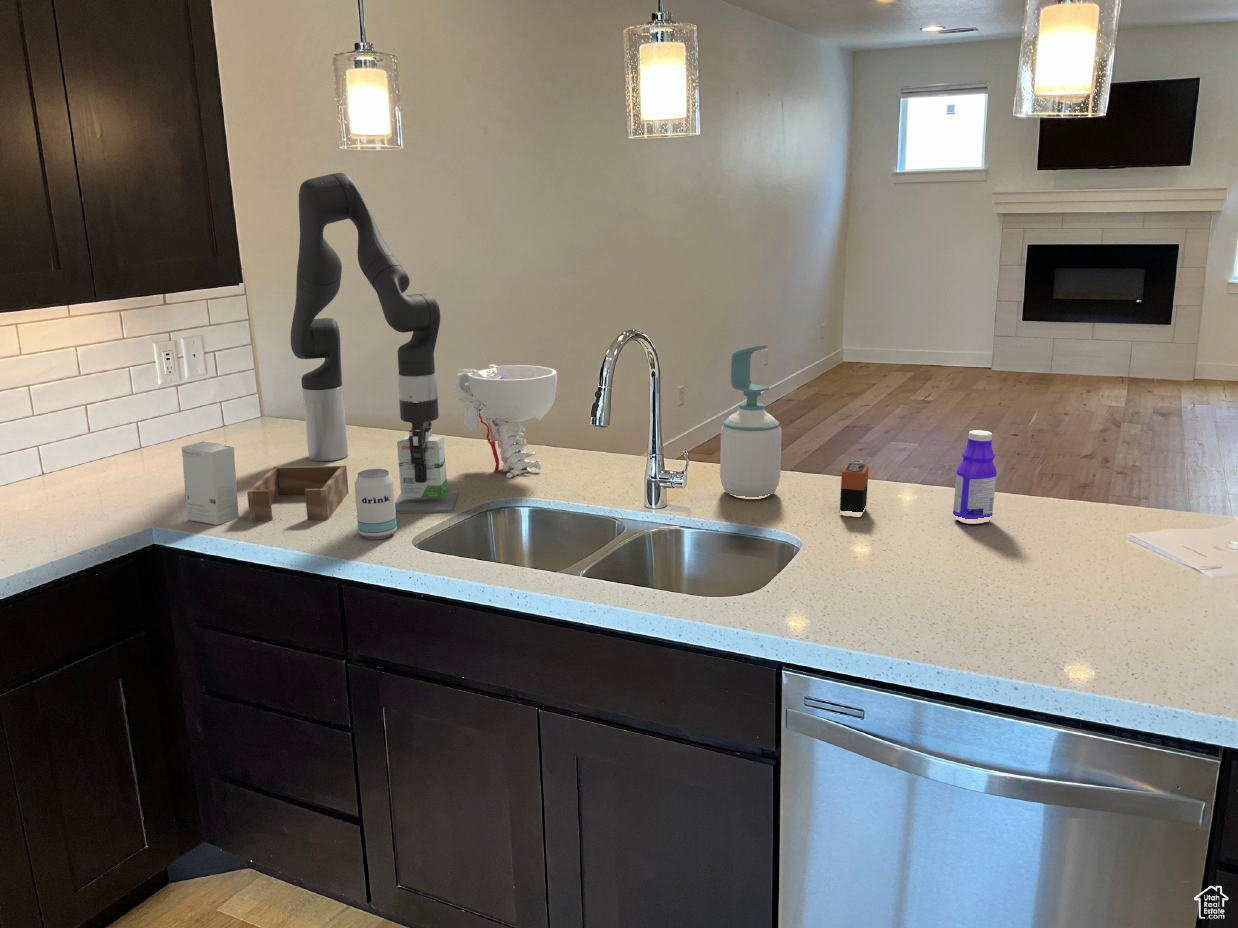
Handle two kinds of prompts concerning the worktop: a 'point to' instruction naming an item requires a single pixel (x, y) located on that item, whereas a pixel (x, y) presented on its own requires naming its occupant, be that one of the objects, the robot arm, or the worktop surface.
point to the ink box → (434, 469)
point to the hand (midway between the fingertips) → (423, 477)
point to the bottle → (976, 478)
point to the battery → (854, 486)
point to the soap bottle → (749, 438)
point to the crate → (300, 490)
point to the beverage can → (375, 503)
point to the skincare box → (210, 482)
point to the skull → (507, 407)
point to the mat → (426, 503)
